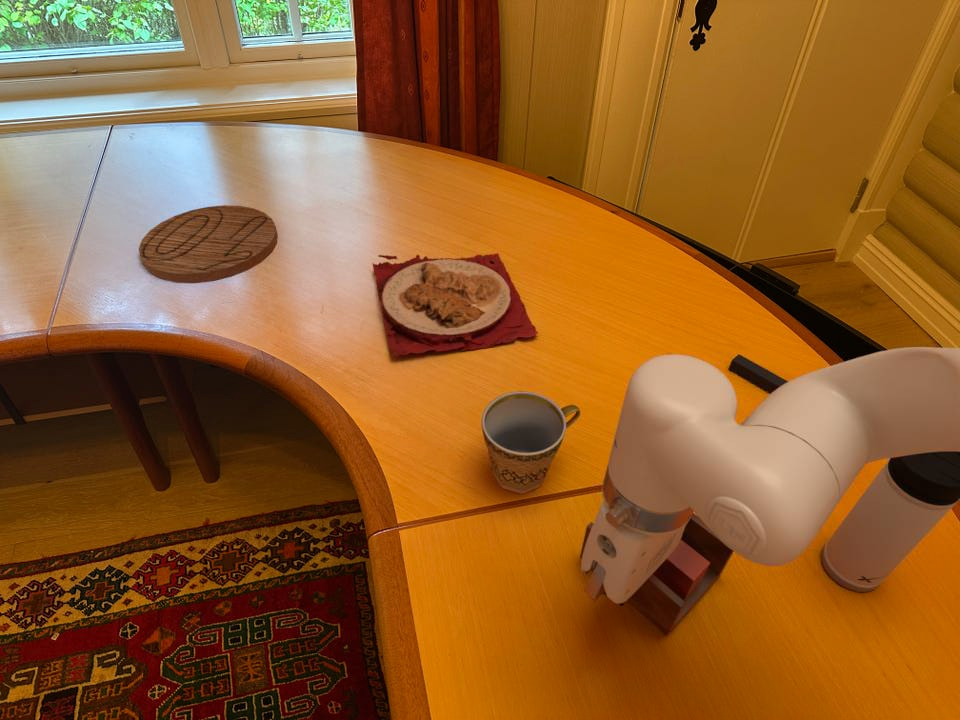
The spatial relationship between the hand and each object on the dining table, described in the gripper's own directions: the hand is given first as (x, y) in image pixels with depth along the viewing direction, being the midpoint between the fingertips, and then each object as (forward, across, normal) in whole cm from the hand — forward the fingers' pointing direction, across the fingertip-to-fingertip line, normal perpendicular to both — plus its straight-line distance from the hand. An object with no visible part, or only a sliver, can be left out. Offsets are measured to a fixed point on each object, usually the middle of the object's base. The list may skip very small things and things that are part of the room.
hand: (614, 590), depth 62 cm
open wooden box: (+4, +7, 0) cm, 8 cm away
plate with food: (+5, +22, +52) cm, 57 cm away
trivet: (+5, 0, +98) cm, 98 cm away
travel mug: (+4, +24, -16) cm, 29 cm away
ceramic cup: (+4, +7, +19) cm, 20 cm away
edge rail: (+4, +44, +1) cm, 44 cm away
